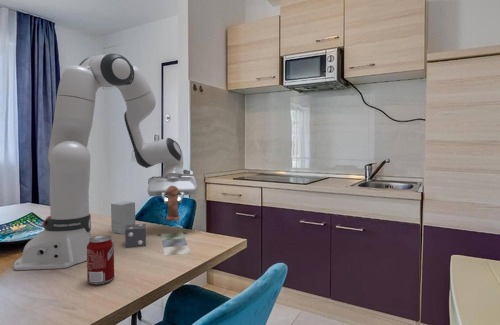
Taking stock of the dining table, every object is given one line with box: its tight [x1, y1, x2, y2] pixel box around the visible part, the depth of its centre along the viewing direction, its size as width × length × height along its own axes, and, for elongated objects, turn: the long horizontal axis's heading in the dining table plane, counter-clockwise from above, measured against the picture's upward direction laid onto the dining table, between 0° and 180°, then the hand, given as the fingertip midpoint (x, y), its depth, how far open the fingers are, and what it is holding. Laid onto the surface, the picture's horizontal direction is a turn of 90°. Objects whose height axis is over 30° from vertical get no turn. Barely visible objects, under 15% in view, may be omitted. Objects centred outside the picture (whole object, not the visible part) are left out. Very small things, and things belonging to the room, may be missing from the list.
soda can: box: [86, 235, 115, 286], centre depth 85 cm, size 7×7×12 cm
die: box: [124, 223, 147, 249], centre depth 116 cm, size 7×7×7 cm
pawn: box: [166, 186, 181, 222], centre depth 126 cm, size 5×5×14 cm
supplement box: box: [110, 200, 136, 235], centre depth 135 cm, size 7×7×13 cm
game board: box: [156, 231, 192, 257], centre depth 119 cm, size 12×28×1 cm, turn 18°
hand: (172, 202), depth 126 cm, fingers closed on pawn, 4 cm apart
